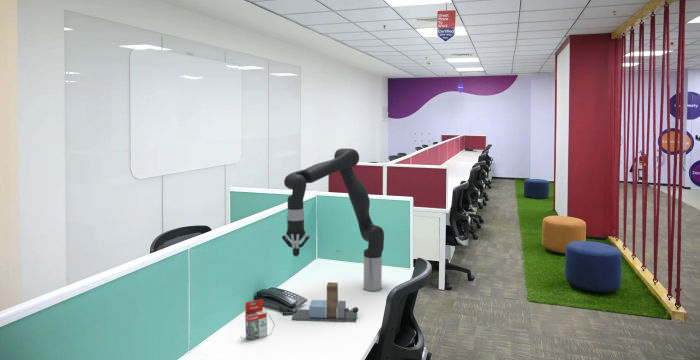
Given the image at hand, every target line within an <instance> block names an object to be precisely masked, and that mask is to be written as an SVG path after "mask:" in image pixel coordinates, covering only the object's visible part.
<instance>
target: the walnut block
mask: <svg viewBox="0 0 700 360" xmlns="http://www.w3.org/2000/svg"><path fill="white" fill-rule="evenodd" d="M326 300H327V317H337V304H338V301H339V283H338V282H331V281H330V282H327V284H326Z"/></svg>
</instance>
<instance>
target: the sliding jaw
mask: <svg viewBox="0 0 700 360" xmlns="http://www.w3.org/2000/svg"><path fill="white" fill-rule="evenodd" d="M308 310H309V317H316V318H327V299H325V300H324V299H323V300H320V299H311V301H310V304H309V306H308Z"/></svg>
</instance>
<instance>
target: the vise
mask: <svg viewBox="0 0 700 360" xmlns="http://www.w3.org/2000/svg"><path fill="white" fill-rule="evenodd" d="M297 311H298V313H297V312H296V313H294V312H293V314H292V316H291V321H300V322H301V321H304V322H334V323H337V322H338V323H357V318H358V313H359V308H358V307H357V306H354V307H347V301H346V300H338V304H337V317H327V318H316V317H309V315H308V316H307V315H304V314H300V313H299V312H305V313H309V309H298V308H297Z"/></svg>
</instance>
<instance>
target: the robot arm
mask: <svg viewBox="0 0 700 360" xmlns="http://www.w3.org/2000/svg"><path fill="white" fill-rule="evenodd" d="M359 162H360V154H359V153H358V151H357V150H355V149H354V148H338V149H337V150H336V151H334V155H333V159H331V160H330V159H329V160H326V161H323V162H322V161H321V162H318V163H315V164H313V165H311V166H309V167H306V168H305V169H301V170H297V171H294V172H290V173H289V174H287V175H286V176H285V177H284V180H283V184H284V186H285V187H286V188H287V189H289V190H292V192H291V195H289V196H287V213H286V221H287V223H286V226H287V227H286V228H287V229H286V233H285V234H283V235H282V236H281V238H282V240H283V241H284V243H285V244H286V245H287V247H289V248H291V249H292V255H293V257H298V256H299V255H300V253H301V252H300V248H303V246H304V245H305V244H306V243H307V242H308V241H309V239H310V237H311V236H310V234H309V235H308V234H306V231H305V211H304V199H305V193H306V190H307V184H313V183H314V182H317V181H319V180H321V179H323V178H325V177H327V176H330V175H332V174H334V173H337V172H339V174H340V176H341V178H342V181H343V183H344V187H345V189H346V191H347V195H348V198H349V201H350V203H351V207H352V208H353V211H354V214H355V217H356V220H357V223H358V229H359V233H360V236H361V238H362V239H363V240H364V241H365V242H367V245H368V247H367V248H365V249H364V250H363V290H366V291H368V292H369V291H370V292H378V291H380V290H382V273H383V272H382V267H383V265H382V264H383V261H382V259H383V257H382V255H383V251H384V245H385V232H384V229H383V228H382V226H380V225H376V224H374V223H373V220H372V218H371V216H370V205H371V204H370V203H371V202H370V197H369V196H370V195H369V193H368V190H367V188H366V186H365V185H364V184H363V182H362V181H361V179H359V177H358V176H357V175H356V173H355V172H354V169H353V168H354V167H356V166H357V165H358V164H359ZM289 239H290V240H289ZM302 239H304V240H303V241H302V242H301V240H302Z"/></svg>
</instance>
